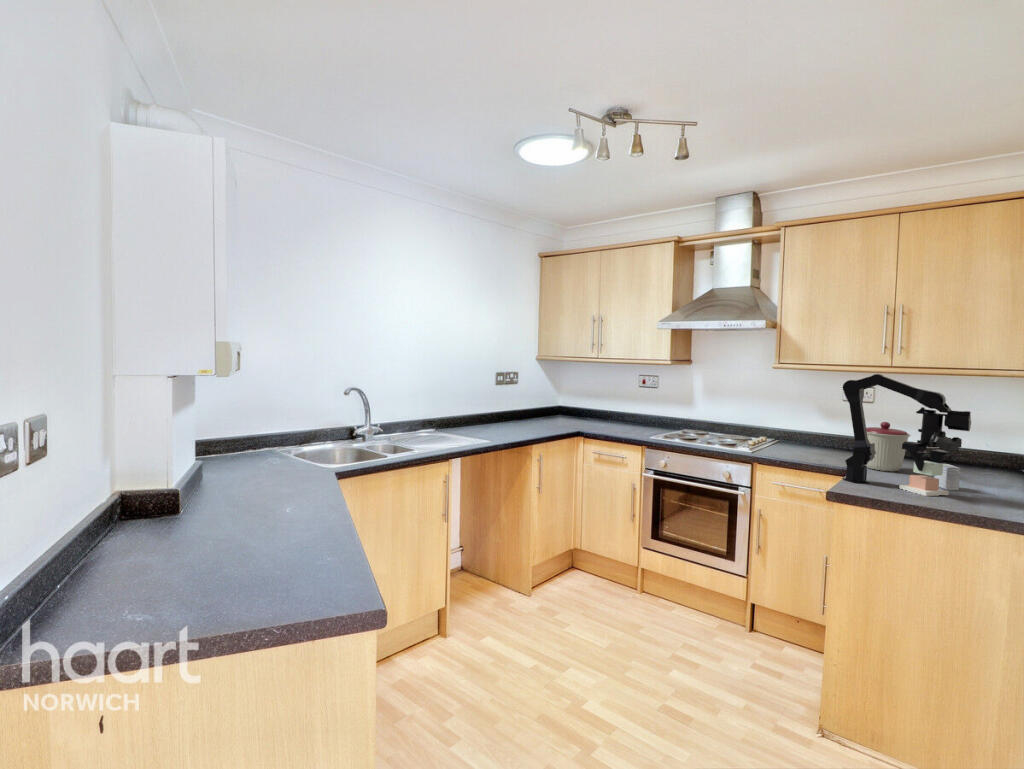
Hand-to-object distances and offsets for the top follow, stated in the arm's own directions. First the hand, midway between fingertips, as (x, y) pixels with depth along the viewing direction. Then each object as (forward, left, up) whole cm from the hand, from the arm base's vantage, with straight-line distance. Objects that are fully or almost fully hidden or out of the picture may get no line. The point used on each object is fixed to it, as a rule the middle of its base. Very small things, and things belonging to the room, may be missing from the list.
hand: (927, 470), depth 188 cm
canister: (+24, +39, -9) cm, 47 cm away
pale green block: (0, 0, -1) cm, 1 cm away
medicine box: (+18, +7, -9) cm, 21 cm away
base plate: (+1, +2, -8) cm, 9 cm away
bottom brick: (+1, +2, -7) cm, 7 cm away
